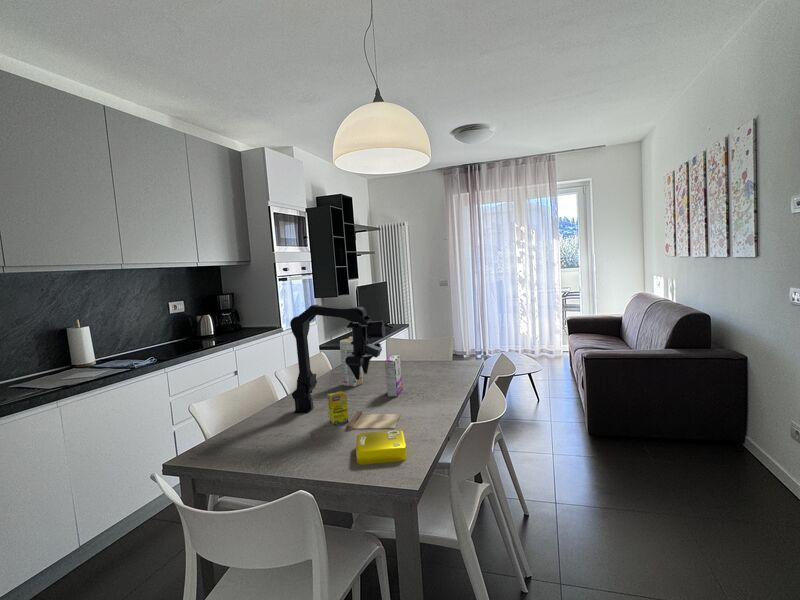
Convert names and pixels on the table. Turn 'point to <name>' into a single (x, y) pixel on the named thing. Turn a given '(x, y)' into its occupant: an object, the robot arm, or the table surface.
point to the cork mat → (377, 421)
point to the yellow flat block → (381, 447)
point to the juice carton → (347, 374)
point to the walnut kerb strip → (353, 420)
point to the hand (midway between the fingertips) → (361, 376)
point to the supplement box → (338, 408)
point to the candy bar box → (393, 376)
